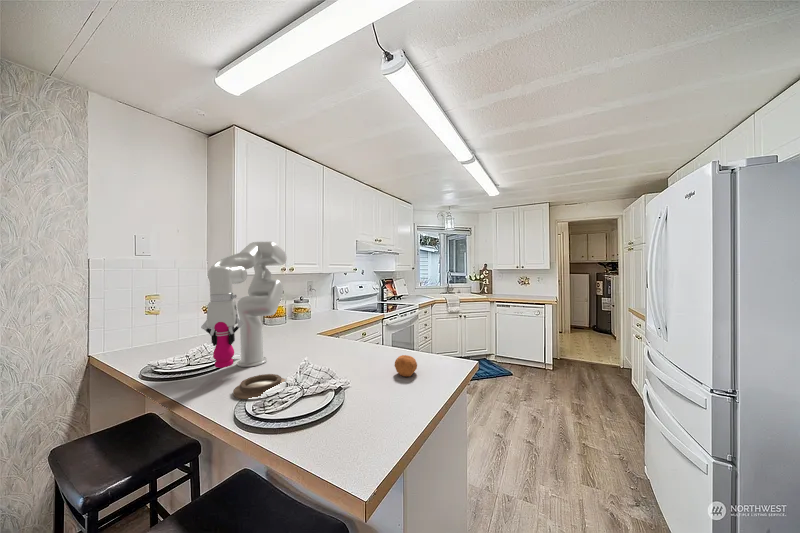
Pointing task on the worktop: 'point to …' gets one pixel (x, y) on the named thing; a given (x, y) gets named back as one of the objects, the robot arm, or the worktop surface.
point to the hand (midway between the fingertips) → (223, 343)
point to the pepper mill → (223, 346)
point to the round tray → (256, 385)
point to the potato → (405, 365)
